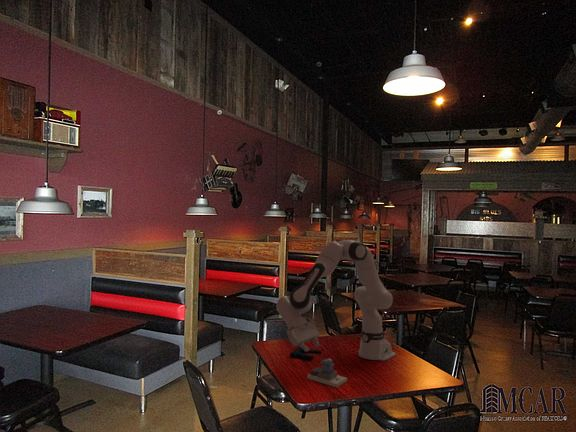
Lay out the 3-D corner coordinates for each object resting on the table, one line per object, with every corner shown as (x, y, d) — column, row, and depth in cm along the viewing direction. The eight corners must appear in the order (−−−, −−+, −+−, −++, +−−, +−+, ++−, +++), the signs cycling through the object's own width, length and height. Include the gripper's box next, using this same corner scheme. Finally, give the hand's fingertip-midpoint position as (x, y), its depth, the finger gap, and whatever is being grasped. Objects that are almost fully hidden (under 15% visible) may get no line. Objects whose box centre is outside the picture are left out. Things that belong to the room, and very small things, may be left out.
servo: (320, 376, 193) (320, 358, 193) (323, 374, 195) (324, 356, 195) (330, 379, 189) (331, 360, 189) (334, 377, 192) (334, 359, 192)
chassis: (307, 378, 193) (307, 370, 193) (318, 372, 201) (318, 364, 201) (336, 387, 183) (336, 378, 183) (347, 381, 191) (347, 372, 191)
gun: (324, 352, 239) (300, 348, 244) (324, 347, 239) (300, 343, 244) (313, 362, 217) (287, 358, 222) (313, 357, 217) (287, 353, 222)
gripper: (288, 325, 194) (304, 349, 188) (312, 318, 210) (327, 340, 204) (281, 333, 197) (296, 357, 190) (304, 325, 213) (320, 347, 207)
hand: (313, 348), depth 197 cm, fingers open, 8 cm apart
